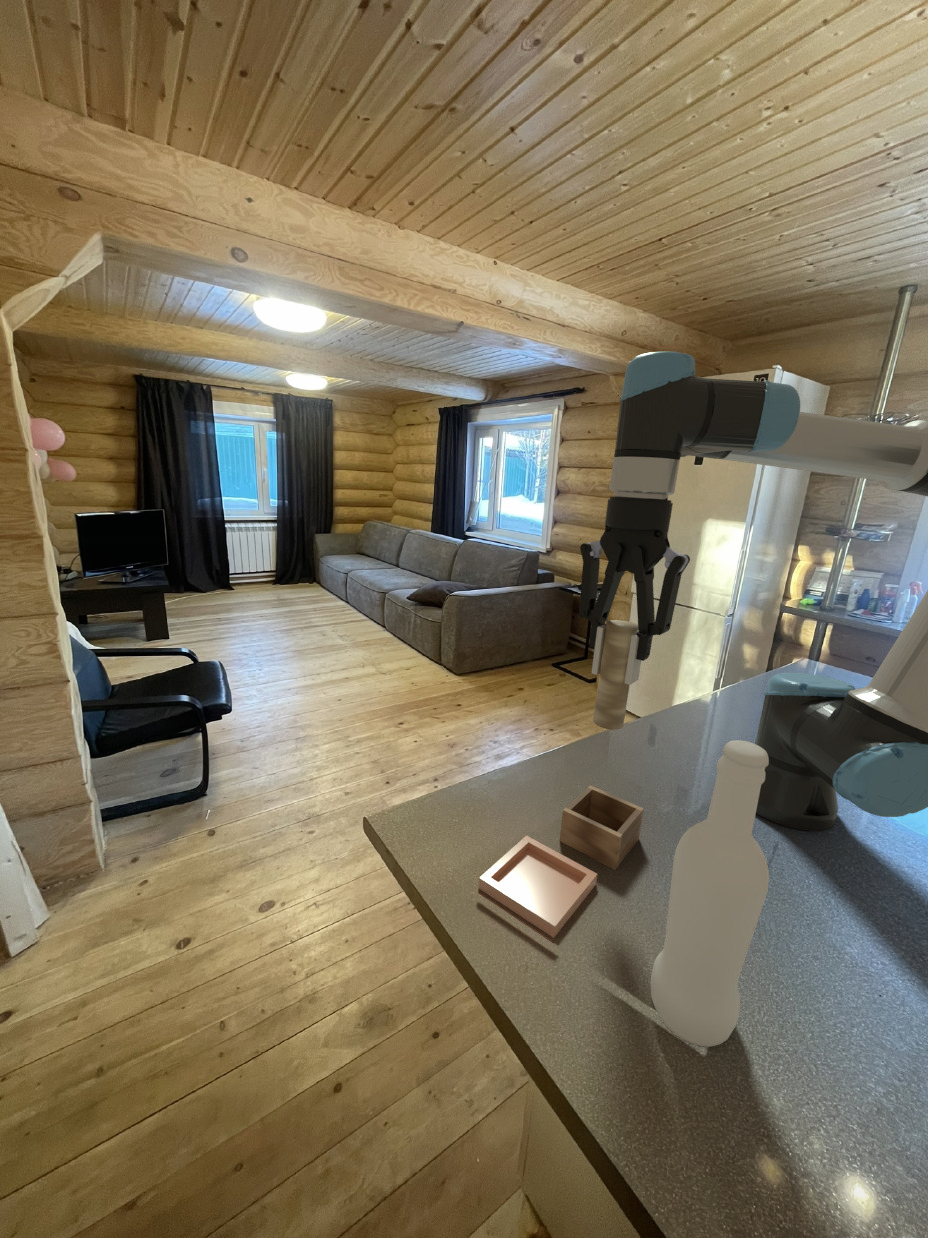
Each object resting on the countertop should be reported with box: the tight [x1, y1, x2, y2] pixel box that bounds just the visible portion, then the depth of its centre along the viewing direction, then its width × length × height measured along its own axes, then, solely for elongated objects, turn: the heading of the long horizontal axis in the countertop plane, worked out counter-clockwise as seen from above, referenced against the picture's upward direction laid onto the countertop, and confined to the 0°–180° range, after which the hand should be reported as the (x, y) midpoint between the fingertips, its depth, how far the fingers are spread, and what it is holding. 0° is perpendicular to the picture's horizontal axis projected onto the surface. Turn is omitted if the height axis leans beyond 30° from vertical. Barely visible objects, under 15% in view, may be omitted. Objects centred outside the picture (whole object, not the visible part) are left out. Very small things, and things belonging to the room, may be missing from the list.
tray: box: [477, 835, 598, 944], centre depth 66 cm, size 11×11×2 cm
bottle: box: [650, 739, 770, 1048], centre depth 49 cm, size 8×8×30 cm
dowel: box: [592, 619, 638, 731], centre depth 68 cm, size 4×4×14 cm
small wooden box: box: [559, 785, 645, 871], centre depth 75 cm, size 9×9×6 cm
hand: (614, 676), depth 68 cm, fingers closed on dowel, 4 cm apart
